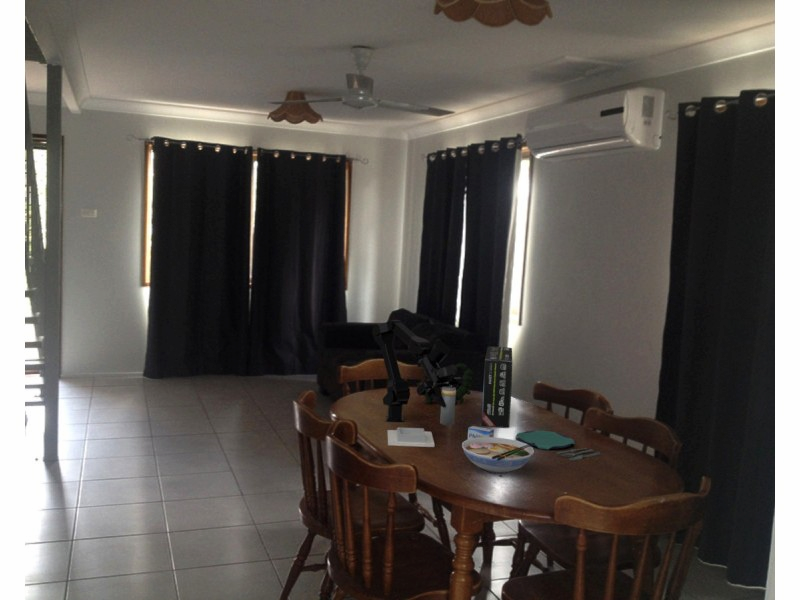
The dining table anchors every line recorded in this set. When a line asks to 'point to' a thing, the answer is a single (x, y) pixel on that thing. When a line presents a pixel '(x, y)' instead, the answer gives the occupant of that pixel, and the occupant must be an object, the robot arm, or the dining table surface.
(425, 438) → the socket plate
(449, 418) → the grey can
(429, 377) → the robot arm
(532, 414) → the dining table surface
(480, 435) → the medicine box
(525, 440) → the cutlery set
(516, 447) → the ramen bowl
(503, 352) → the router box
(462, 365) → the toy figurine
